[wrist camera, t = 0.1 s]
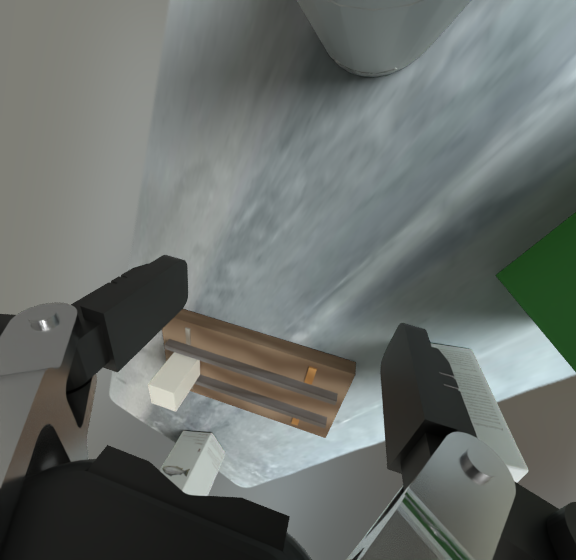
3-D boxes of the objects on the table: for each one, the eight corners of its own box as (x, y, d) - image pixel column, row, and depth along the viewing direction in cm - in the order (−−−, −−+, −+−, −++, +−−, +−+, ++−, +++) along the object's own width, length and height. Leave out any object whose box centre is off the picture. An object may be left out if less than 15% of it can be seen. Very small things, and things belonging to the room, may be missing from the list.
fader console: (169, 304, 37) (154, 319, 34) (355, 362, 34) (354, 383, 31) (176, 373, 45) (164, 389, 42) (327, 425, 42) (324, 446, 39)
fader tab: (176, 348, 38) (147, 383, 33) (199, 356, 37) (173, 393, 32) (178, 367, 40) (151, 402, 35) (200, 374, 39) (176, 411, 34)
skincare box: (404, 365, 32) (422, 476, 22) (413, 338, 30) (436, 449, 20) (461, 375, 31) (506, 498, 21) (474, 348, 28) (532, 471, 18)
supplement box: (212, 431, 52) (173, 510, 41) (226, 453, 55) (194, 531, 45) (182, 428, 55) (138, 502, 44) (198, 449, 58) (160, 523, 47)
